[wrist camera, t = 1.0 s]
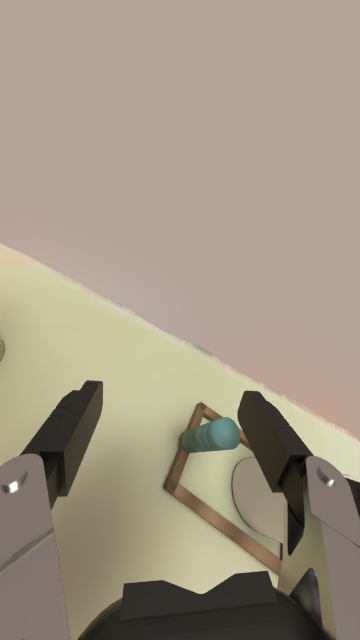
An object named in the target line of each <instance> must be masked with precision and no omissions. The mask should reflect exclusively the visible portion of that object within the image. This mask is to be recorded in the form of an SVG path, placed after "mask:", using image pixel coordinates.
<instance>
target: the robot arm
mask: <svg viewBox="0 0 360 640" xmlns="http://www.w3.org/2000/svg"><path fill="white" fill-rule="evenodd" d="M3 353H4V343H3V341H2V339H1V338H0V360H1V358H2V356H3ZM102 406H103V382H102V381H90V380H87V381H86V382H85V383H84V385H83V386H82V388H81V389H80V391H77V390H73V391H72V392H70V393H69V394H67V395H66V396H65V397H63V398H62V400H61V401H60V402H59V404H58V405H57V406H56V409H54V411H53V412H52V413H51V415H50V417H48V419H47V420H46V421H45V423H44V424H43V425H42V427H41V428H40V429H39V431H38V432H37V433H36V435H35V436H34V437H33V439H32V440H31V441H30V443H29V444H28V445H27V447H26V448H25V449H24V451H23V452H22V453H21V454H20V455H19V456H17V457H15V458H13V459H11V460H9V461H7V462H6V463H4V464H3V465H2V466H0V640H71V638H70V632H69V625H68V619H67V612H66V606H65V599H64V593H63V586H62V580H61V573H60V566H59V560H58V553H57V547H56V540H55V534H54V529H53V523H52V517H51V510H52V508H53V505H54V503H55V501H56V499H57V497H63V496H67V495H68V493H69V491H70V488H71V486H72V483H73V481H74V479H75V476H76V474H77V471H78V469H79V466H80V464H81V462H82V459H83V457H84V454H85V452H86V449H87V447H88V445H89V442H90V440H91V437H92V435H93V433H94V430H95V428H96V425H97V423H98V420H99V418H100V415H101V411H102ZM238 421H239V424H240V426H241V428H242V430H243V432H244V434H245V436H246V438H247V441H248V443H249V445H250V447H251V449H252V451H253V453H254V455H255V457H256V460H257V462H258V464H259V466H260V468H261V470H262V472H263V474H264V476H265V479H266V481H267V483H268V485H269V487H270V489H271V491H272V493H283V494H284V496H285V498H286V499H285V501H284V516H283V560H282V567H281V571H280V575H279V580H278V587H277V588H275V587H273V585H272V582H271V579H270V576H269V573H268V571H260V572H249V573H238V574H234V575H233V576H231V577H229V578H228V579H226V580H225V581H223V582H222V583H220V584H219V585H217V586H216V587H214V588H213V589H211V590H209V591H208V592H206V593H204V594H198V593H195V592H192V591H190V590H187V589H184V588H182V587H179V586H176V585H174V584H171V583H169V582H166V581H163V580H159V581H148V582H137V583H125V584H124V589H123V597H122V598H121V599H119V600H117V601H116V602H114V603H112V604H111V605H110V606H108V607H107V608H106V609H105V610H103V611H102V612H101V613H100V614H99V615H98V616H97V617H96V618H95V619H94V620H93V621H92V622H91V623H90V625H89V626H88V627H87V628H86V629H85V631H84V632H83V633H82V634H81V636H80V637H79V638H78V640H360V482H357V481H354V480H351V479H348V478H345V477H344V476H343V475H342V474H341V473H340V472H339V471H338V470H337V469H336V468H335V467H334V466H333V465H332V464H330V463H329V462H327V461H326V460H324V459H322V458H319V457H316V456H314V455H313V454H312V453H311V451H310V450H309V449H308V448H307V446H306V445H305V444H304V443H303V441H302V440H301V439H300V437H299V436H298V435H297V434H296V432H295V431H294V430H293V428H292V427H291V426H289V423H288V422H287V421H286V419H284V417H283V416H282V414H281V413H280V412H279V411H278V409H277V408H276V407H274V406H273V405H272V404H271V403H270V402H268V401H266V400H265V398H264V397H263V396H262V394H261V393H260V392H258V391H245V392H244V393H243V396H242V399H241V402H240V406H239V409H238Z"/></svg>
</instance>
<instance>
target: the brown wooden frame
mask: <svg viewBox="0 0 360 640" xmlns="http://www.w3.org/2000/svg"><path fill="white" fill-rule="evenodd" d="M203 417H205V418H206V419H208V420H209V421H211V422H209V423H206V424H204V425H201V426H200V423H201V420H202V418H203ZM239 442H241V443H242V444H244V445H245V446H246V447H248V448H249V449H251V447H250V445H249V443H248V441H247V438H246V436H245V434H244V432H243V431H242V430H241V429H239V428H238V426H237V425H236V423H235V422H234V421H233V420H232V419H230V418H227V417H222V416H220V415H219V414H218V413H216V412H215V411H213V410H212V409H210V408H209V407H207V406H206V405H205V404H203V403H202V402H200V403H199V404H197V406H196V409H195V411H194V414H193V416H192V418H191V421H190V423H189V426H188V428H187V431H185V432H184V433H183V434H182V437H181V445H180V448H179V450H178V452H177V455H176V457H175V460H174V462H173V465H172V467H171V469H170V472H169V474H168V477H167V479H166V482H165V484H164V486H163V488H164V489H165V490H166V491H168V492H169V493H170V494H172V495H173V496H174V497H176V498H177V499H178V500H180V501H181V502H182V503H184V504H185V505H186V506H188V507H189V508H190V509H192V510H193V511H194V512H196V513H197V514H198V515H200V516H201V517H202V518H204V519H205V520H206V521H208V522H209V523H210V524H212V525H213V526H214V527H216V528H217V529H218V530H220V531H221V532H222V533H223V534H225V535H226V536H227V537H229V538H230V539H231V540H233V541H234V542H235V543H237V544H238V545H239V546H241V547H242V548H243V549H245V550H246V551H247V552H249V553H250V554H251V555H253V556H254V557H255V558H257V559H258V560H259V561H261V562H262V563H263V564H265V565H266V566H267V567H269V568H270V569H271V570H273V571H274V572H275V573H277V574H278V575H280V571H281V567H282V560H283V544H282V543H281V553H280V559H279V558H277V557H276V556H275V555H273V554H272V553H271V552H269V551H268V550H267V549H265V548H264V547H263V546H261V545H260V544H259V543H257V542H256V541H255V540H253V539H252V538H251V537H249V536H248V535H247V534H245V533H244V532H243V531H241V530H240V529H239V528H237V527H236V526H234V525H233V524H232V523H230V522H229V521H228V520H226V519H225V518H224V517H222V516H221V515H220V514H218V513H217V512H216V511H214V510H213V509H212V508H210V507H209V506H208V505H206V504H205V503H204V502H202V501H201V500H200V499H198V498H197V497H196V496H194V495H193V494H192V493H190V492H189V491H188V490H186V489H185V488H184V487H182V486H181V485H179V484H178V483H179V480H180V477H181V475H182V472H183V469H184V466H185V464H186V461H187V458H188V456H189V453H194V452H206V451H218V450H230V449H235V448H236V447H237V446H238V444H239ZM251 450H252V449H251Z"/></svg>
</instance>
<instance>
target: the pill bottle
mask: <svg viewBox="0 0 360 640" xmlns="http://www.w3.org/2000/svg"><path fill="white" fill-rule="evenodd" d="M342 475H343V476H344V477H345V478H348V479H351V480H354V481H357V482H359V481H358V480H356V479H355V478H353V477H352V476H350V475H347V474H342ZM232 486H233V495H234V500H235V503H236V506H237V509H238V511H239V513H240V515H241V516H242V518H243V520H244V521H245V522H246V523H247V524H248V525H249V526H250V527H251V528H252V529H254V530H255V531H256V532H258V533H260V534H263V535H265V536H267V537H269V538H271V539H274V540H276V541H278V542H280V543H282V544H283V516H284V501H285V499H286V498H285V496H284V494H283V493H272V491H271V489H270V487H269V485H268V483H267V481H266V479H265V476H264V474H263V472H262V470H261V468H260V466H259V464H258V462H257V460H256V458H247V459H244V460H242V461H241V462H240V463H239V464H238V465H237V467H236V469H235V471H234V475H233V483H232Z"/></svg>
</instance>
